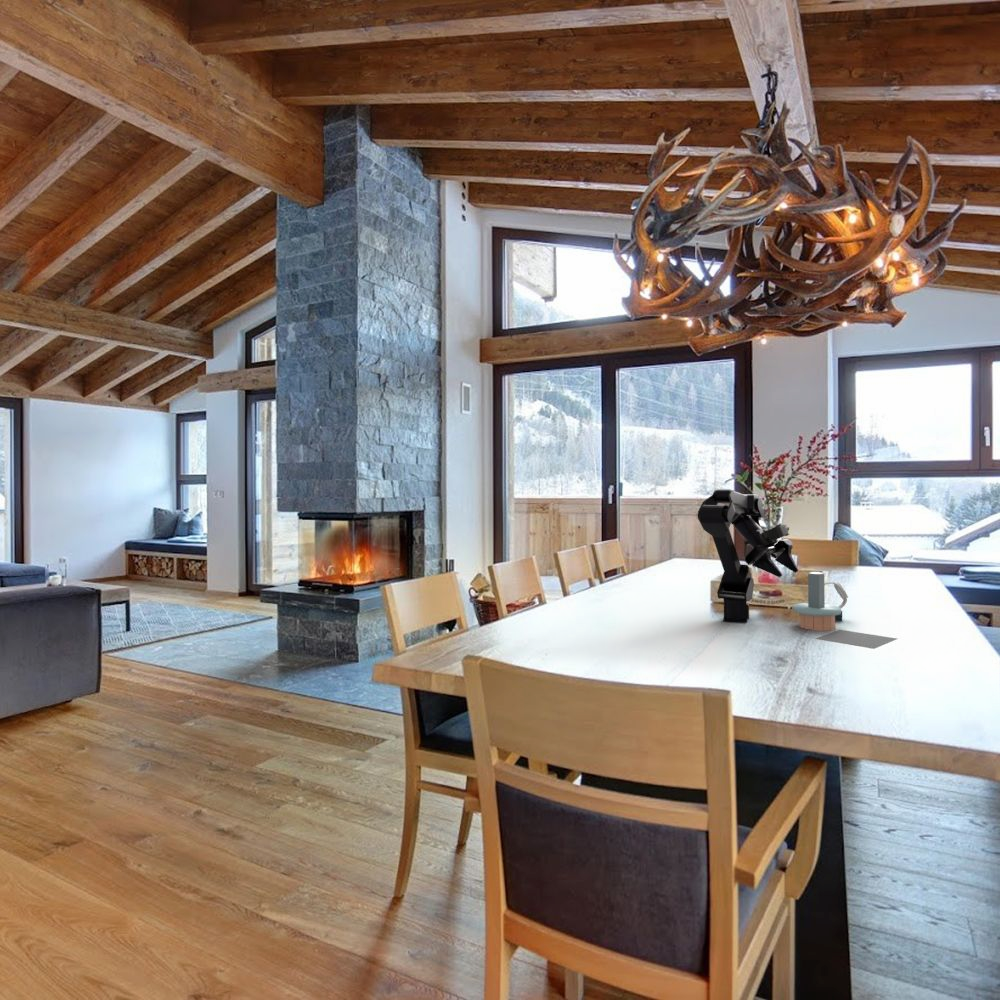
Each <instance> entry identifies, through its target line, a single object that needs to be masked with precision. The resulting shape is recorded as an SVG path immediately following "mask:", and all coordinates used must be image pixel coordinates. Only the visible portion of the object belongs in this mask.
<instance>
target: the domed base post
mask: <svg viewBox="0 0 1000 1000" xmlns="http://www.w3.org/2000/svg"><path fill="white" fill-rule="evenodd" d="M824 582H825V572H819V571H818V572H817V571H812V572H808V573H807V588H808V589H807V598H808V599H807V602H803V603H802V602H801V603H794V604H793V605H792V607H791V608H792V609H791V611H792V612H794V613H796V614H798V615H799V614H804V615H812V616H835V615H840V614H841V611H842V608H840V607H839V605H833V604H827V603H825V599H826V598H825V585H824Z"/></svg>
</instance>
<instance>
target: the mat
mask: <svg viewBox="0 0 1000 1000" xmlns="http://www.w3.org/2000/svg"><path fill="white" fill-rule="evenodd" d="M814 639H816V640H820V641H826V642H833V643H839V644H843V645H844V644H845V645H850V646H857V647H863V648H868V649H873V650H874V649H877V648H879V647H882V646H884V645H886V644H888V643H889V644H890V643H892V642H894V641H896V640H898V638H896V637H891V636H890V637H889V636H883V635H877V634H870V633H864V632H859V631H857V632H856V631H851V630H844V629H837V630H836V631H832V632H828V633H827V634H823V635H821V636H818V637H815V638H814Z"/></svg>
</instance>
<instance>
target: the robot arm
mask: <svg viewBox="0 0 1000 1000" xmlns="http://www.w3.org/2000/svg"><path fill="white" fill-rule="evenodd" d="M764 512H765V511H764V508H763V502H762V498H760V495H759V494H755V493H753V494H752V493H750V494H749V493H746V494H744V493H743V494H742V493H740V492H738V491H735V490H734V489H732V488H731V489H730V488H717V489H715V490H714V491H713V493H712V495H710V496H709V497H707V498H706V499H705V500H703V501H702V502H701V505H700V506H699V509H698V511H697V520H698V521H699V524H700V525H701V528H702V529H703V531H705V532H706V533H707V534H709V535H710V536H711V537H712V539H713V543H714V546H715V549H716V552H717V555H718V557H719V561H720V563H721V567H722V569H723V574H722V576H721V579H720V583H719V586H718V589H717V595H716V596H717V599H719V600H720V599H723V618H722V621H723V622H736V623H748V620H749V619H750V604H749V603H747V602H748V601H751V600H753V597H754V595H753V594H754V588H755V587H754V585H755V581H754V578H753V577H752V572H751V570H750V567H749V566H752V567H755V568H757V569H760V570H762V571H764V572H767V573H769V574H771V575H773V576H775V577H777V578H781V577H782V576H783V573H782V572H781V570H780V569H779V567H778V566H777V565H776V564H775V563H774V561H773V559H772V558H774V560H775V561H776V562H777V563H779V564H780V565H782V566H784V567H785V568H787V569H788V570H790V571H792V572H793V573H797V572H799V569H798V567H797V564H796V562H795V560H794V557H793V556H792V549H793V547H794V543H793V542H792V540H790V539H788V538H787V539H786V538H784V539H780V538H783V537H788V536H789V535H790V533H789V530H790V527H789V526H787V524H785V523H783V522H782V523H779V524H775V527H772V528H770V529H768V528H767V525H766V523H765V522H764V521H762V520H761V519H764V518H765V513H764ZM731 525H733V528H734V529H735V530H736V531H737V532H738V534H739V535H740V536H741V537H742V538H743V539H744V540H745V542H744V545H745V546H750V547H751V548H750V550H748V551H747V553H746V554H745V555H743V559H744V562H745V563H746V564H742V563H741V561H740V558H739V555H738V552H737V549H736V546H735V543H734V540H733V538H732V534H731V531H730V526H731ZM779 539H780V540H779Z"/></svg>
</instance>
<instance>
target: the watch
mask: <svg viewBox="0 0 1000 1000" xmlns="http://www.w3.org/2000/svg"><path fill="white" fill-rule="evenodd" d="M828 584H832V585H833V586H834V589H835V591H836V593H837V594H838V595H839V597H840V598H841V599H842V600H843V601H842V602H841V604H839V605H838V607H840V608H841V609H843V608H844V607H845V605H847V602H848V598H849V596H848V594H847V592H846V590H845V589H844V588H843V586H842V585H841V584H840V583H839V582H835V581H831V580H830V581H829V580H826V581H824V586H825V585H828ZM835 622H843V610H841V614H840V615H835Z"/></svg>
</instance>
